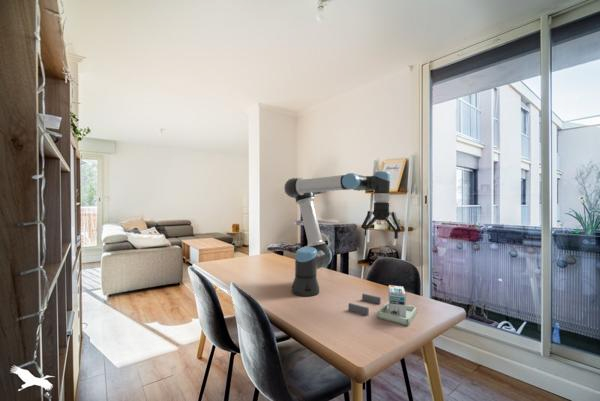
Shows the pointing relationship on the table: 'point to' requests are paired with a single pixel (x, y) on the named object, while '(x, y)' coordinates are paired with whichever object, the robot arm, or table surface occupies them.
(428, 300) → the table surface
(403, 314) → the light bulb box
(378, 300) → the grey bars
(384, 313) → the tray
